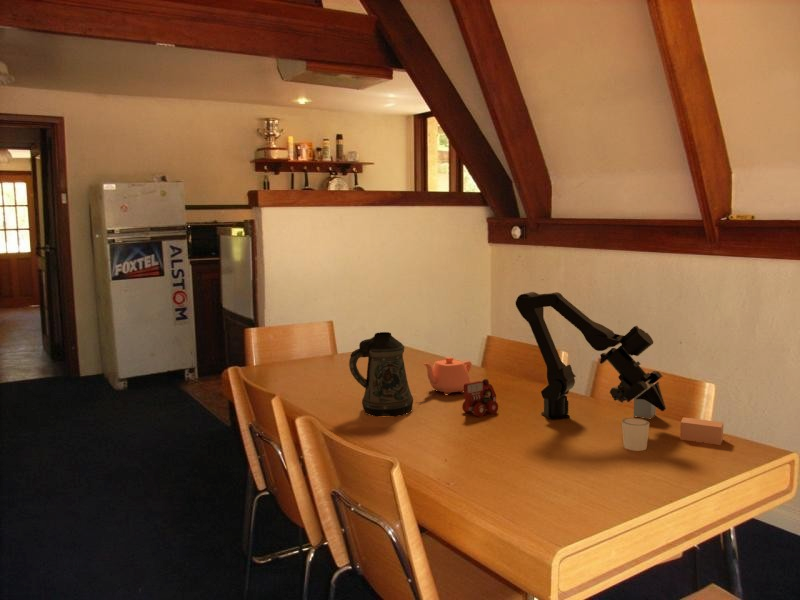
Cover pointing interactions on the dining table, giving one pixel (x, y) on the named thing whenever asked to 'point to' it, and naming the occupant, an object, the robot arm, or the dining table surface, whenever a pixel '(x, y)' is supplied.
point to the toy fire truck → (479, 398)
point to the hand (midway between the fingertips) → (664, 410)
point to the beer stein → (383, 376)
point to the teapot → (448, 375)
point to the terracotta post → (701, 431)
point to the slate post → (643, 408)
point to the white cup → (635, 433)
